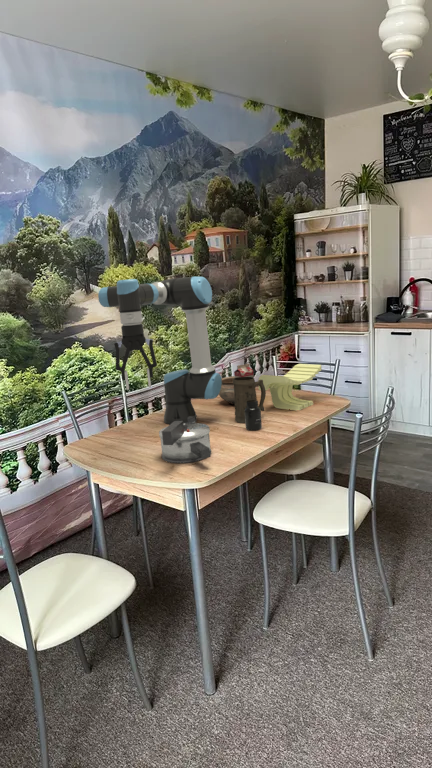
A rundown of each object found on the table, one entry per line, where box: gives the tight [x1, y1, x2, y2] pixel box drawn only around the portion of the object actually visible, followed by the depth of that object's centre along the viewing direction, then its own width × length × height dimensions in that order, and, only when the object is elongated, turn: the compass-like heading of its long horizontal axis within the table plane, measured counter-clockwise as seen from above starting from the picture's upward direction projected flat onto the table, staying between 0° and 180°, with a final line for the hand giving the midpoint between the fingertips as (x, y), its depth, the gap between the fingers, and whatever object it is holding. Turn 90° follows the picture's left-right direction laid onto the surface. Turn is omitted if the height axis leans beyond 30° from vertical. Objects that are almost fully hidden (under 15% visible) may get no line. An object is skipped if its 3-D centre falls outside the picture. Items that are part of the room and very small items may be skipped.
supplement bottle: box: [244, 399, 262, 432], centre depth 226 cm, size 7×7×12 cm
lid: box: [158, 415, 211, 445], centre depth 196 cm, size 30×19×6 cm, turn 165°
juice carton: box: [233, 363, 255, 379], centre depth 260 cm, size 7×7×22 cm
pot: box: [159, 433, 212, 464], centre depth 197 cm, size 31×18×8 cm, turn 26°
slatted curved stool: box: [257, 363, 322, 411], centre depth 259 cm, size 30×16×18 cm, turn 138°
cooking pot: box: [218, 375, 235, 405], centre depth 276 cm, size 25×19×12 cm
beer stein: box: [233, 377, 267, 424], centre depth 241 cm, size 15×10×20 cm
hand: (138, 387), depth 194 cm, fingers open, 7 cm apart
